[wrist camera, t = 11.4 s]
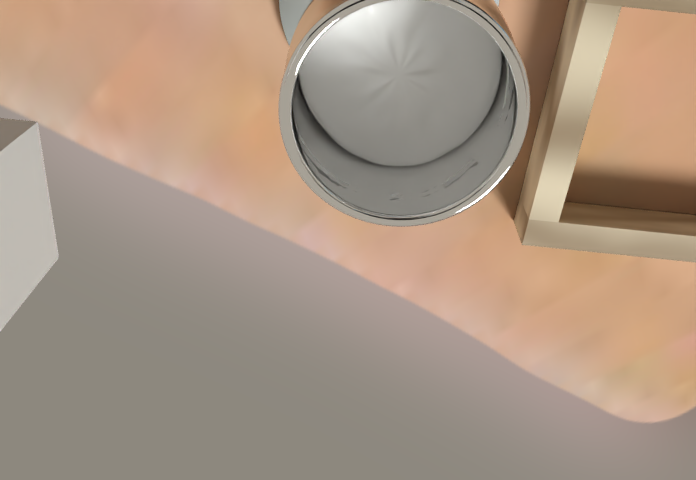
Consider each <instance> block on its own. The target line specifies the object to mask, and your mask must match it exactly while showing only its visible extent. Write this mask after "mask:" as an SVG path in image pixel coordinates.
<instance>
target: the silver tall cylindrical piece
mask: <svg viewBox="0 0 696 480" xmlns="http://www.w3.org/2000/svg"><path fill="white" fill-rule="evenodd" d="M529 117H530V87H529V81H528V76H527V72H526V69H525V66H524V63H523V60H522V58H521V56H520V53H519V51H518V49H517V47H516V45H515V42H514V39H513V37H512V34H511V31H510V29H509V27H508V24H507V22H506V20H505V18H504V17H503V15H502V13H501V11H500V10H499V8H498V6H497V4H496V3H495V1H494V0H310V2H309V3H308V5H307V6H306V8H305V9H304V11H303V13H302V15H301V17H300V19H299V21H298V23H297V26H296V28H295V31H294V34H293V37H292V40H291V43H290V47H289V50H288V55H287V60H286V66H285V71H284V75H283V79H282V83H281V88H280V94H279V124H280V130H281V135H282V139H283V142H284V145H285V148H286V151H287V153H288V156H289V158H290V160H291V162H292V164H293V166H294V167H295V169H296V171H297V172H298V174H299V175H300V177H301V178H302V179H303V181H304V182H305V183H306V184H307V185H308V186H309V188H310V189H311V190H312V191H313V192H314V193H315V194H317V195H318V196H319V197H320V198H321V199H322V200H324V201H325V202H326V203H328V204H329V205H331V206H332V207H334V208H335V209H337V210H339V211H341V212H342V213H344V214H347V215H349V216H351V217H353V218H356V219H359V220H362V221H365V222H369V223H373V224H378V225H385V226H397V227H405V226H418V225H424V224H429V223H434V222H437V221H441V220H444V219H447V218H449V217H452V216H454V215H456V214H458V213H460V212H462V211H464V210H466V209H468V208H470V207H471V206H473V205H474V204H476V203H477V202H479V201H480V200H481V199H483V198H484V197H485V196H486V195H487V194H489V193H490V192H491V191H492V190H493V189H494V188H495V187H496V186H497V185H498V184H499V183H500V181H501V180H502V179H503V178H504V177H505V175H506V174H507V173H508V171H509V170H510V168H511V167H512V165H513V164H514V162H515V160H516V158H517V156H518V154H519V152H520V150H521V148H522V145H523V142H524V139H525V136H526V133H527V129H528V124H529Z"/></svg>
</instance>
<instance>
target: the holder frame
mask: <svg viewBox="0 0 696 480" xmlns="http://www.w3.org/2000/svg"><path fill="white" fill-rule="evenodd" d="M621 6H622V7H631V8H641V9H650V10H660V11H669V12H679V13H688V14H696V0H569V4H568V8H567V12H566V16H565V20H564V24H563V28H562V32H561V36H560V40H559V44H558V48H557V52H556V56H555V60H554V64H553V68H552V72H551V76H550V79H549V83H548V87H547V91H546V95H545V99H544V103H543V107H542V111H541V115H540V119H539V123H538V127H537V131H536V135H535V139H534V143H533V147H532V151H531V155H530V159H529V163H528V167H527V171H526V175H525V179H524V183H523V187H522V191H521V194H520V198H519V202H518V206H517V210H516V214H515V218H514V224H515V226H516V229H517V232H518V235H519V237H520V240H521V243H522V245H529V246H539V247H549V248H559V249H568V250H578V251H588V252H598V253H608V254H618V255H627V256H637V257H647V258H657V259H667V260H677V261H686V262H696V215H690V214H681V213H671V212H661V211H651V210H642V209H632V208H622V207H612V206H602V205H593V204H583V203H573V202H565V198H566V195H567V191H568V188H569V184H570V181H571V178H572V174H573V171H574V167H575V164H576V160H577V157H578V154H579V150H580V147H581V143H582V140H583V136H584V133H585V130H586V126H587V123H588V119H589V116H590V112H591V109H592V106H593V102H594V99H595V95H596V92H597V88H598V85H599V82H600V78H601V75H602V71H603V68H604V65H605V61H606V58H607V54H608V51H609V47H610V44H611V41H612V37H613V34H614V30H615V27H616V23H617V20H618V17H619V13H620V10H621Z"/></svg>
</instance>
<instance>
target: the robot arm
mask: <svg viewBox="0 0 696 480" xmlns="http://www.w3.org/2000/svg"><path fill="white" fill-rule="evenodd" d="M58 258H59V256H58V249H57V243H56V236H55V231H54V224H53V217H52V211H51V204H50V198H49V192H48V185H47V179H46V172H45V166H44V160H43V153H42V147H41V141H40V134H39V128H38V122H33V121H24V120H14V119H4V118H0V331H1V330H2V329H3V327H4V326H5V325H6V324H7V322H8V321H9V320H10V318H11V317H12V316H13V315H14V313H15V312H16V311H17V310H18V308H19V307H20V306H21V305H22V303H23V302H24V301H25V300H26V298H27V297H28V296H29V294H30V293H31V292H32V291H33V289H34V288H35V287H36V286H37V284H38V283H39V282H40V280H41V279H42V278H43V277H44V275H45V274H46V273H47V272H48V270H49V269H50V268H51V267H52V265H53V264H54V263H55V262H56V260H57V259H58Z"/></svg>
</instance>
